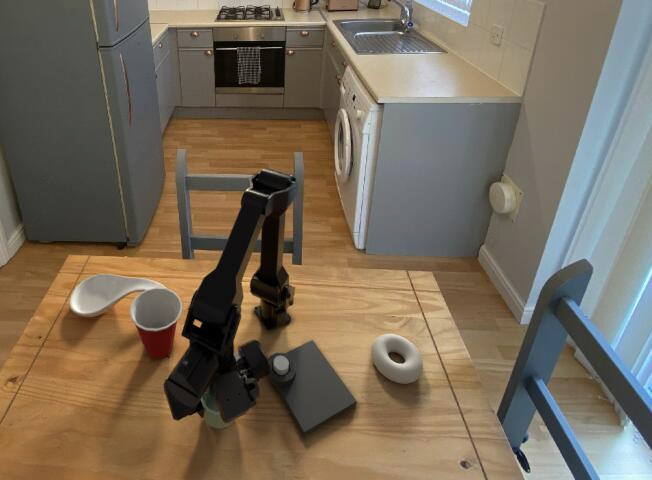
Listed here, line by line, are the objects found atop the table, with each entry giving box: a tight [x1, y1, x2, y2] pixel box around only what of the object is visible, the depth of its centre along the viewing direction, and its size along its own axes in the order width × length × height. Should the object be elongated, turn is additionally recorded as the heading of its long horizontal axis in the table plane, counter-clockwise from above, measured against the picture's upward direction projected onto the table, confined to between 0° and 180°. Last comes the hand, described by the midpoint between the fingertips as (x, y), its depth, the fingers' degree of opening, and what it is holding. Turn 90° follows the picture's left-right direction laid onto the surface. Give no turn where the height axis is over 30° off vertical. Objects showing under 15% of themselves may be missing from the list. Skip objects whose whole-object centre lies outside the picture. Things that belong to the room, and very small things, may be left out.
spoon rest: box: [68, 273, 167, 318], centre depth 100 cm, size 24×12×7 cm, turn 89°
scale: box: [266, 339, 358, 437], centre depth 82 cm, size 14×13×3 cm
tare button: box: [273, 356, 289, 375], centre depth 84 cm, size 3×3×2 cm
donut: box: [370, 333, 424, 385], centre depth 86 cm, size 10×4×10 cm
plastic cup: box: [129, 287, 183, 360], centre depth 89 cm, size 11×11×12 cm
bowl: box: [201, 392, 235, 429], centre depth 77 cm, size 7×7×4 cm
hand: (219, 406), depth 78 cm, fingers closed on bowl, 7 cm apart
